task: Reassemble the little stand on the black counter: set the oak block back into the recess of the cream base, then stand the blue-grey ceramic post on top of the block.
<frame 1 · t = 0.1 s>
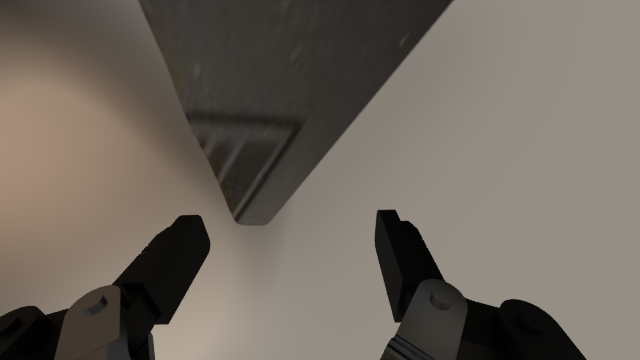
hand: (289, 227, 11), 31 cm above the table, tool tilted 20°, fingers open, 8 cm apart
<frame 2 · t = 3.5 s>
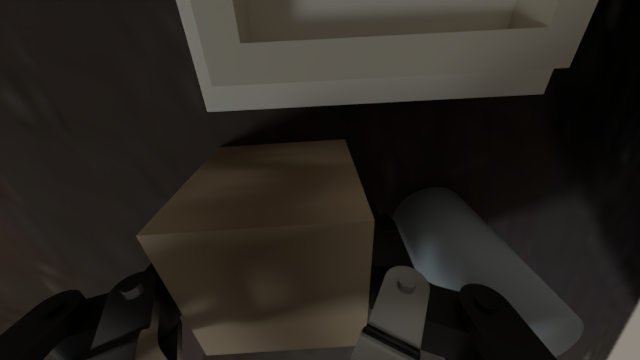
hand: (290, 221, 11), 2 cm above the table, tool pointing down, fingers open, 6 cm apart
smoothie: (186, 318, 18), on the table
grey post: (425, 213, 14), on the table, touching gripper, hand
oak block: (289, 196, 13), on the table
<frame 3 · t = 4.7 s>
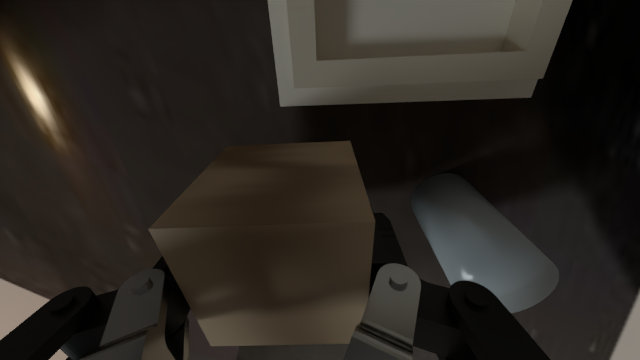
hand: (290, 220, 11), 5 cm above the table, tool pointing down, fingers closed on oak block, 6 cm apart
smoothie: (231, 281, 22), on the table
grey post: (440, 198, 16), on the table
oak block: (294, 195, 13), point 3 cm above the table, touching gripper
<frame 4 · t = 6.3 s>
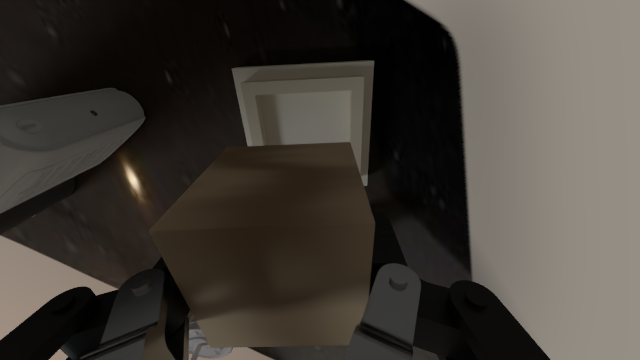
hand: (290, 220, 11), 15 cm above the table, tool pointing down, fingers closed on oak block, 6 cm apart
smoothie: (233, 273, 36), on the table
oak block: (294, 196, 13), point 13 cm above the table, touching gripper
cream base: (308, 128, 24), on the table
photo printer: (110, 126, 25), on the table
when the fingers open (4 cm above the table, at t = 8.7 s): oak block stays where it is, resting on cream base.
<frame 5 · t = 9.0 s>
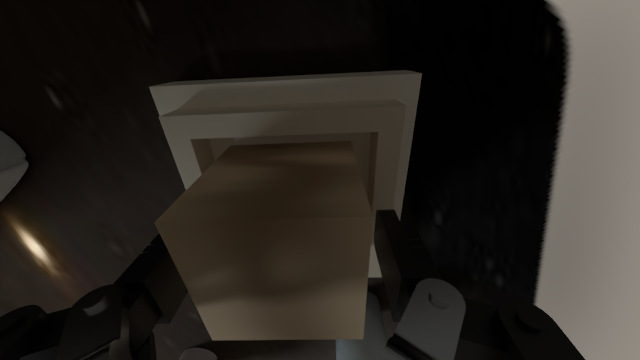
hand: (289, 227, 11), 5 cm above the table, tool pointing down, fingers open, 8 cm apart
smoothie: (201, 354, 26), on the table
grey post: (356, 303, 21), on the table
oak block: (295, 194, 13), point 2 cm above the table, touching cream base
cream base: (299, 178, 15), on the table
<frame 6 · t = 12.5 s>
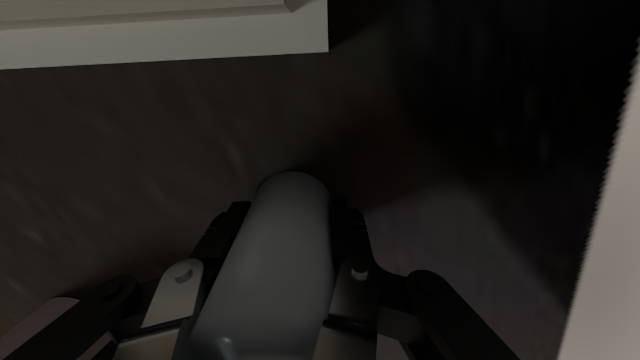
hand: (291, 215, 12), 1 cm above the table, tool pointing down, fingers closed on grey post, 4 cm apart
smoothie: (78, 310, 17), on the table
grey post: (293, 205, 12), on the table, touching gripper
when the fingers open (10 cm above the table, at t = 16.4 s): grey post drops 1 cm, resting on oak block.
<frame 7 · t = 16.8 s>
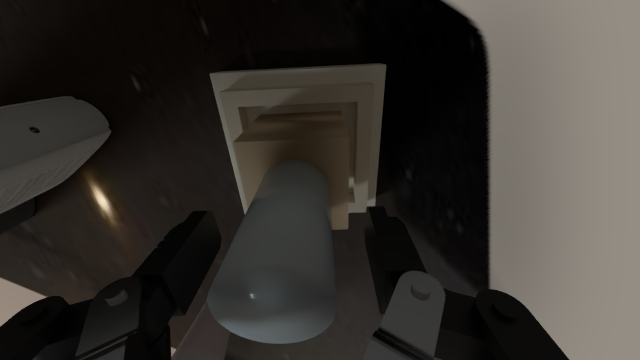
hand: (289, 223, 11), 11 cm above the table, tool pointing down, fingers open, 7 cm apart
smoothie: (222, 300, 32), on the table
grey post: (295, 191, 13), point 8 cm above the table, touching oak block
oak block: (303, 150, 19), point 2 cm above the table, touching cream base, grey post
cream base: (305, 143, 20), on the table
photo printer: (70, 141, 21), on the table
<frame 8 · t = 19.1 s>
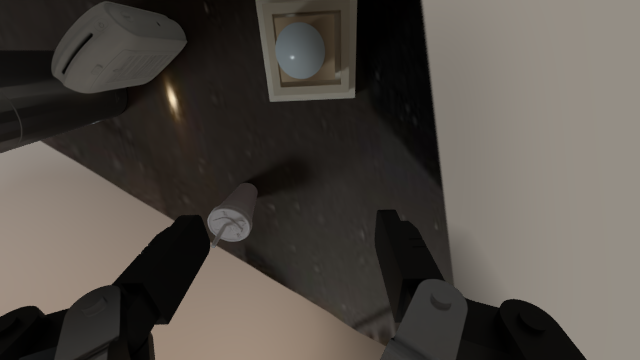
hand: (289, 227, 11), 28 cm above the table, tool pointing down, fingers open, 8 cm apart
smoothie: (247, 190, 43), on the table
grey post: (306, 51, 25), point 8 cm above the table, touching oak block
oak block: (309, 50, 30), point 2 cm above the table, touching cream base, grey post
cream base: (310, 51, 32), on the table
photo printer: (158, 51, 32), on the table
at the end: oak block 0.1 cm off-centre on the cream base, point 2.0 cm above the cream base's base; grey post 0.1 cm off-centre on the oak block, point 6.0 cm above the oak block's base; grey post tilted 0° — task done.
